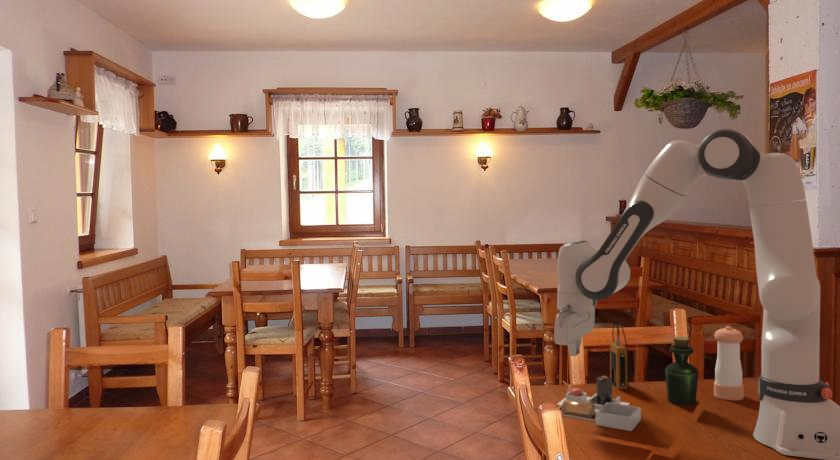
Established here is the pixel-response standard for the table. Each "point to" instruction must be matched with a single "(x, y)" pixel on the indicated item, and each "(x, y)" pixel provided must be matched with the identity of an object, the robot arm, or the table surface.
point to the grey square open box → (618, 416)
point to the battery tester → (589, 400)
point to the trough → (578, 416)
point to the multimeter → (619, 362)
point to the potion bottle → (681, 375)
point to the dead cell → (604, 390)
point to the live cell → (578, 409)
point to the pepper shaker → (728, 365)
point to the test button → (576, 392)
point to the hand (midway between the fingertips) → (574, 354)
